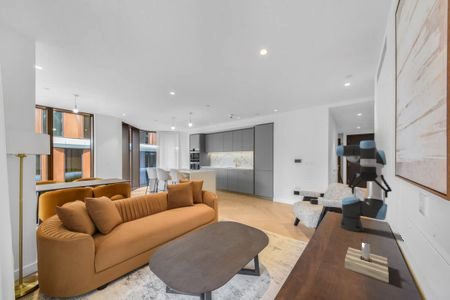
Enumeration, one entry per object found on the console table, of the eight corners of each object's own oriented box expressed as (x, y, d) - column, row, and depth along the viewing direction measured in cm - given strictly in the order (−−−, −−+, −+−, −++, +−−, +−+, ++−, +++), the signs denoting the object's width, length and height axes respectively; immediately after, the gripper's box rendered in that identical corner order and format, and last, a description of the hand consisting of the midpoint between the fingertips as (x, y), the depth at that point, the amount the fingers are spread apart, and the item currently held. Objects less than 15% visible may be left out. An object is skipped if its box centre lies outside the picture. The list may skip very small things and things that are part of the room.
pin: (362, 263, 90) (361, 241, 91) (370, 265, 88) (369, 243, 89) (361, 265, 88) (361, 243, 88) (370, 268, 86) (369, 245, 86)
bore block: (348, 254, 99) (348, 247, 99) (387, 266, 89) (386, 258, 89) (344, 268, 87) (344, 259, 87) (388, 283, 77) (388, 274, 77)
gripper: (342, 165, 112) (343, 198, 111) (397, 167, 95) (398, 206, 95) (344, 165, 117) (345, 196, 117) (396, 166, 101) (397, 203, 100)
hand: (368, 201), depth 106 cm, fingers open, 13 cm apart
